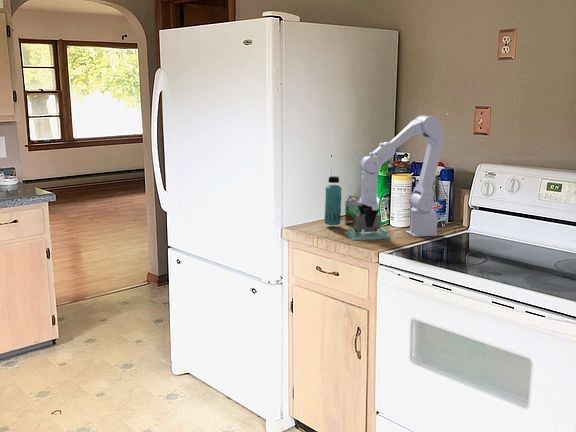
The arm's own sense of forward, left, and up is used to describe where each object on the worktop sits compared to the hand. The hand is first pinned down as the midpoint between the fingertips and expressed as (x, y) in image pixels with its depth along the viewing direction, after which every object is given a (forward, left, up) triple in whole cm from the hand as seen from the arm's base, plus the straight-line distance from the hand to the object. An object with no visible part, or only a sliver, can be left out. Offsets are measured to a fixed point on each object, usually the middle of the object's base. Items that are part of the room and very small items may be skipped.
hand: (367, 225), depth 226 cm
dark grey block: (0, 0, -2) cm, 2 cm away
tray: (0, 0, -4) cm, 4 cm away
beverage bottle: (+9, -16, -4) cm, 19 cm away
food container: (-2, -22, -4) cm, 23 cm away
